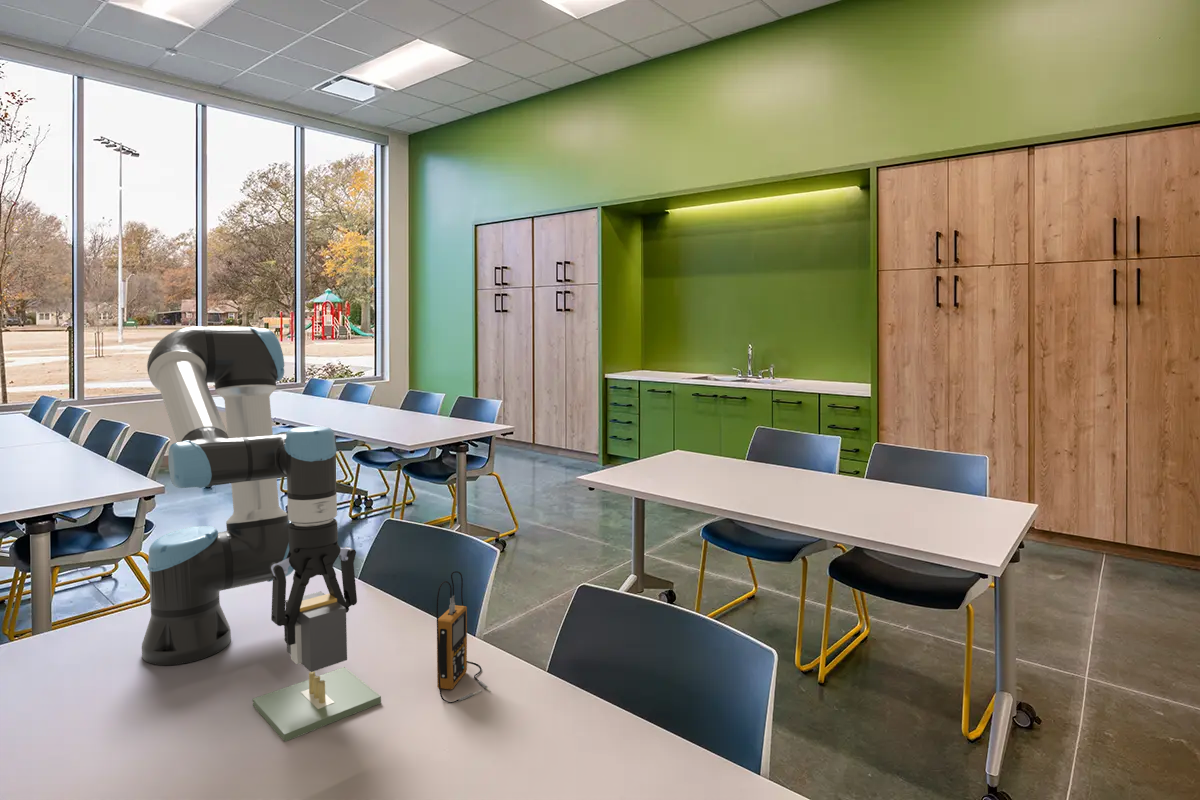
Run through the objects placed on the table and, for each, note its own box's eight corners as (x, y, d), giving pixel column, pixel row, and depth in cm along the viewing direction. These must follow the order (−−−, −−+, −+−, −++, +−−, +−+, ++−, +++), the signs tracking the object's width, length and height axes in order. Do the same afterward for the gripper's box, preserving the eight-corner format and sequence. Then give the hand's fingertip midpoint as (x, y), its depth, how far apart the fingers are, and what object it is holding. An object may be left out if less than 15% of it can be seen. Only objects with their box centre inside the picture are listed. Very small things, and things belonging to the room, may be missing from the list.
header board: (252, 705, 114) (252, 678, 114) (344, 673, 125) (344, 648, 125) (284, 741, 104) (283, 712, 104) (381, 702, 116) (380, 676, 115)
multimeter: (482, 708, 115) (482, 595, 113) (427, 701, 117) (426, 589, 115) (510, 667, 129) (510, 565, 127) (461, 661, 131) (461, 561, 129)
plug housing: (286, 651, 115) (285, 597, 114) (322, 640, 120) (320, 588, 119) (310, 672, 108) (309, 614, 107) (347, 659, 113) (346, 604, 112)
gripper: (260, 536, 102) (265, 682, 104) (377, 514, 116) (380, 644, 118) (243, 526, 108) (248, 665, 110) (357, 506, 121) (360, 630, 123)
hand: (316, 654), depth 114 cm, fingers closed on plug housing, 6 cm apart
